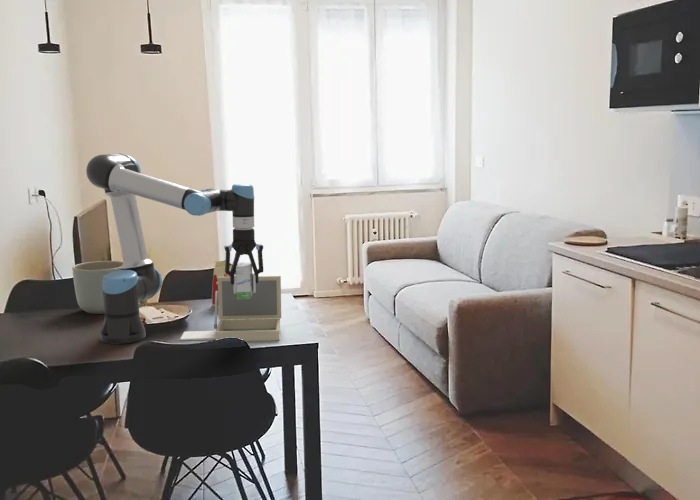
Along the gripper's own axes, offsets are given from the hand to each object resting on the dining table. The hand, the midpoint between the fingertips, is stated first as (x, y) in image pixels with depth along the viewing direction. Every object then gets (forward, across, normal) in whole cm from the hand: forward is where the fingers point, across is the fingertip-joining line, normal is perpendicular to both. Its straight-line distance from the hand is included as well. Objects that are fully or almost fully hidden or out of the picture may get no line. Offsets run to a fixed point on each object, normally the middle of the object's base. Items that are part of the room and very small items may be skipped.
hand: (244, 292), depth 239 cm
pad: (+16, -16, +2) cm, 22 cm away
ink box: (+2, 0, 0) cm, 2 cm away
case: (+15, +1, 0) cm, 16 cm away
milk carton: (+16, -1, +46) cm, 49 cm away
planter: (+16, -50, +52) cm, 74 cm away
